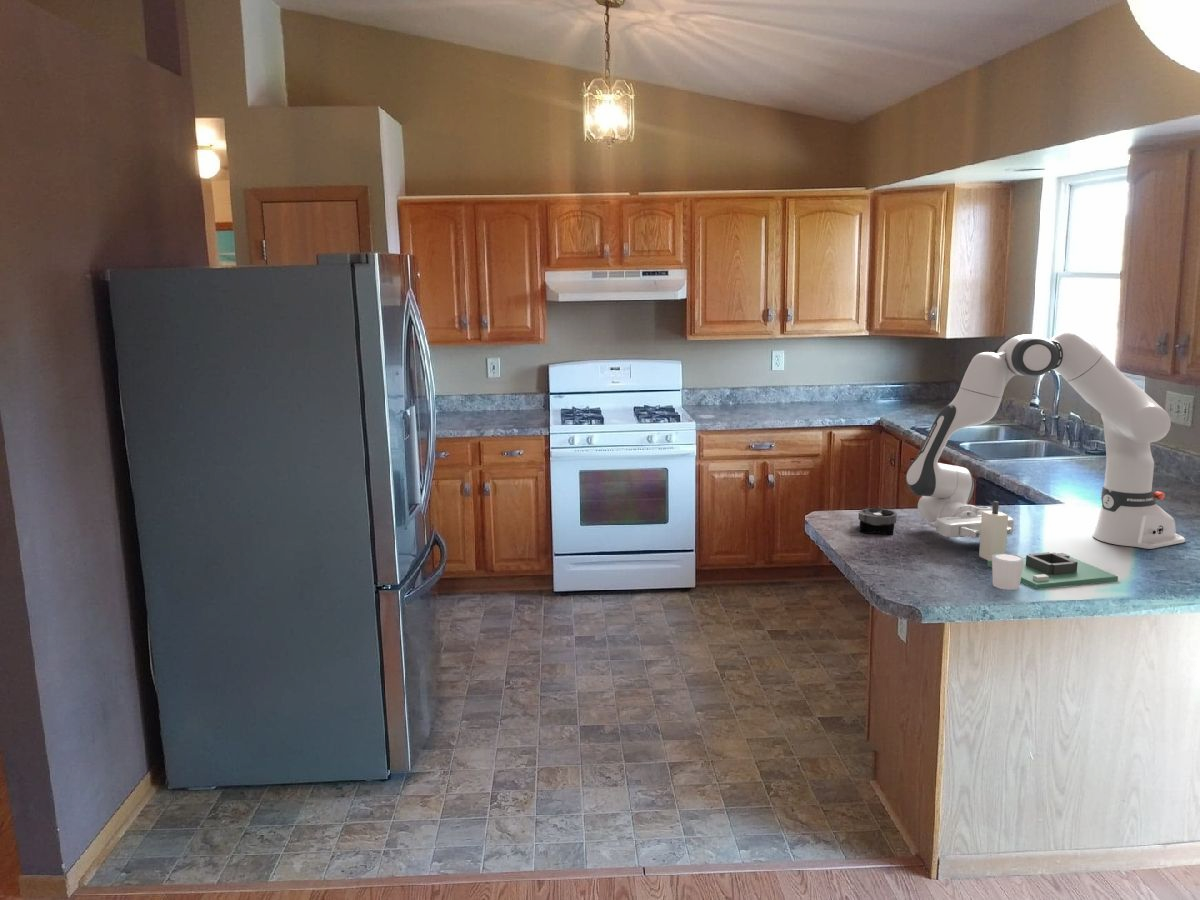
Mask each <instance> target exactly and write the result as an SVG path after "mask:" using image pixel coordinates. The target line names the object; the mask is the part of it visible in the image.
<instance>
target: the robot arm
mask: <svg viewBox="0 0 1200 900" xmlns="http://www.w3.org/2000/svg"><path fill="white" fill-rule="evenodd" d="M1053 370H1054V371H1056V372H1057V373H1059V375H1060V376H1061V377H1062V378H1063V379H1064V381H1066V382H1067V383H1068V384H1069V385H1070V387H1071V388H1072V389H1074V390H1075V392H1076V393H1077V394H1079V396H1080V397H1081V398H1082V399H1083V400H1084V401H1085V402H1086V403H1087V404H1089V405H1090V407H1093V408H1094V409H1095V410H1096V411H1097V412H1098V413H1099V414H1100V417H1101V418H1100V419H1101V420H1102V423H1103V435H1104V444H1105V453H1106V455H1105V456H1106V457H1105V463H1106V464H1105V475H1104V484H1103V486H1102V490H1101V494H1100V499H1101V506H1100V510H1099V515H1098V519H1097V521H1096V522H1097V523H1096V526H1095V528H1094V531H1093V534H1092V536H1093V538H1095V539H1096V540H1099V541H1101V542H1104V543H1108V544H1113V545H1117V546H1125V547H1136V548H1141V549H1147V550H1149V549H1157V548H1158V549H1159V548H1163V547H1168V546H1172V545H1178V544H1184V543H1186V539H1185V537H1184V536H1182V535H1181V534H1178V533H1176V521H1175V519H1174V517H1173V516H1172V515H1170V514H1169V513H1168V512H1166V511H1165V510H1164V509H1163V508H1162V507H1160V506H1159V505H1158V504H1157V501H1156V500H1157V499H1158V500H1160V501H1162V500H1164V498H1165V497H1166V496H1165V495H1166V493H1164V492H1162V491H1153V490H1152V489H1153V481H1154V480H1153V478H1154V469H1155V460H1154V457H1153V455H1152V454H1153V453H1152V450H1151V443H1156V442H1159V441H1160V440H1163V438H1165V437H1166V436H1167V434H1168V433H1169V432H1170V429H1171V424H1172V422H1171V421H1172V420H1171V417H1170V415H1169V413H1168V412H1167V411H1166V410H1165V409H1164V408H1163V407H1162V406H1161V405H1159V404H1158V403H1157V401H1155V400H1154V399H1153V398H1152V397H1151V396H1150V395H1149V394H1148V393H1146V392H1145V391H1144V390H1142V388H1141V387H1140V386H1138V384H1136V383H1134V382H1133V381H1132V380H1131V379H1129V378H1128V377H1127V376H1126V375H1125V374H1124V373H1123V372H1122V371H1121V370H1120V369H1119V368H1118V367H1117V366H1116V365H1115V364H1114V363H1113V362H1112V361H1111V360H1110V359H1109V358H1108V357H1107V356H1106V355H1105V354H1104V353H1103V352H1102V351H1101V350H1100V348H1098V347H1097V346H1096V345H1094V344H1093V343H1092V342H1091V341H1090V340H1088V339H1087V338H1085V337H1084V335H1081V334H1080V333H1078V332H1077V331H1075V330H1070V329H1068V330H1063V331H1060V332H1058V333H1056V334H1055V335H1053V336H1052V337H1051V338H1046V337H1043V336H1038V335H1035V334H1015V335H1012V336H1010V337H1008V338H1007V339H1005V340H1004V341H1003V342H1002V343H1001V344H1000V345H999V346H997V348H996V349H995V350H993V352H992V351H990V352H989V351H984V352H979V353H977V354H975V356H973V357H972V359H971V361H970V363H969V364H968V367H967V369H966V371H965V372H964V376H963V378H962V380H961V382H960V386H959V390H958V391H957V393H956V395H955V397H954V398H953V400H952V401H951V402H950V403H948V404H947V405H944V406H943V407H942V408H941V410H939V412H938V414H937V415H936V417H935V419H934V421H933V423H932V426H931V427H930V429H929V431H928V433H927V435H926V437H925V439H924V442H923V443H922V445H921V448H920V450H919V451H918V453H917V456H915V458H914V460H913V461H912V463H911V464H910V466H909V467H908V469H907V471H906V474H905V481H906V485H907V487H908V488H909V490H910V491H911V492H912V494H914V495H915V496H919V497H920V498H919V500H918V503H917V510H918V513H919V515H920V517H921V518H922V519H923V520H925V521H926V522H927V523H929V526H930V527H932V528H935V532H936V533H938V534H940V535H941V536H943V537H945V538H959V537H960V538H964V537H968V538H969V537H970V538H973V539H977V538H979V539H980V534H981V518H982V511H992V507H990V506H987V505H986V506H985V505H973V504H969V502H970V500H971V498H972V496H973V493H974V490H975V489H974V488H975V480H974V477H973V474H972V473H971V471H970V470H969V469H968V468H967V467H964V466H960V465H954V464H947V463H942V462H938V461H939V459H940V457H941V455H942V453H943V451H944V449H945V447H946V445H947V443H948V441H949V440H950V437H951V436H952V435H953V434H954V433H956V432H957V431H960V430H963V429H965V428H969V427H975V426H979V425H982V424H985V423H987V422H989V421H990V420H991V419H993V418H994V417H995V416H996V414H997V412H998V410H999V407H1000V405H1001V402H1002V398H1003V397H1004V396H1003V395H1004V392H1005V388H1006V386H1007V385H1008V383H1009V381H1010V380H1011V379H1013V377H1015V376H1021V377H1029V378H1035V377H1039V376H1043V375H1045V374H1047V373H1049V372H1051V371H1053ZM1014 528H1015V519H1014V518H1013V517H1011V516H1010V515H1008V528H1007V536H1011V535H1013V532H1014Z"/></svg>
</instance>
